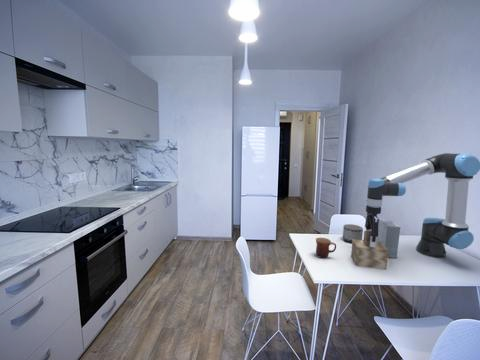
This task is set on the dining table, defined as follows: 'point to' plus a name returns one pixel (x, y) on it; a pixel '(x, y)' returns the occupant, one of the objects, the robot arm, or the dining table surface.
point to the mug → (323, 247)
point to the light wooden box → (369, 258)
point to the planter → (352, 232)
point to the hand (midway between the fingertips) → (369, 243)
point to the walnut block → (367, 238)
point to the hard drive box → (389, 236)
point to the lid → (360, 245)
